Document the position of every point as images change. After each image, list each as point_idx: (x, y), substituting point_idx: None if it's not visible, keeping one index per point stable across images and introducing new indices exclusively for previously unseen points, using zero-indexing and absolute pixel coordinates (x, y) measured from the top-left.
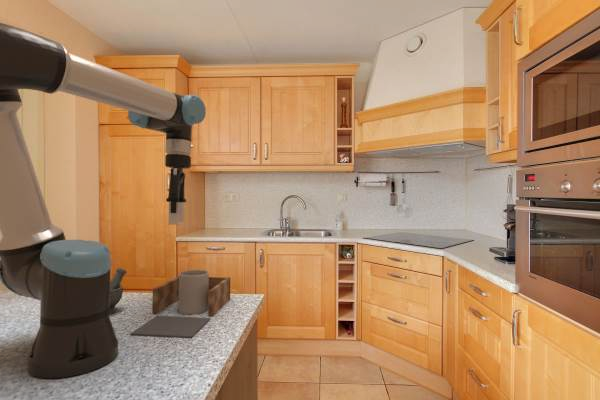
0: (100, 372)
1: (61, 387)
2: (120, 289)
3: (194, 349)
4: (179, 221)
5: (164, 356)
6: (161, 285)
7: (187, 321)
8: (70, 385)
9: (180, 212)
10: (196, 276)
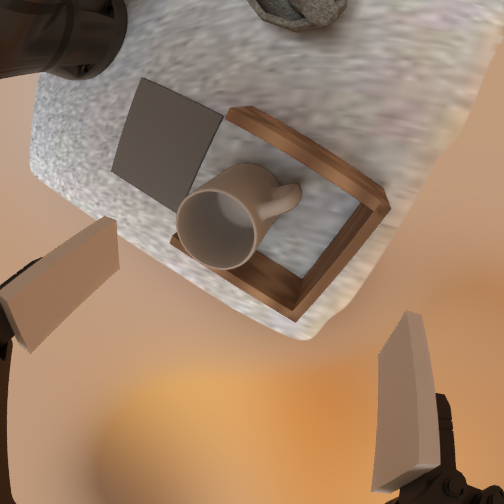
0: None
1: None
2: (277, 23)
3: (85, 170)
4: (390, 341)
5: (75, 135)
6: (265, 133)
7: (170, 172)
8: None
9: (389, 401)
10: (176, 227)
